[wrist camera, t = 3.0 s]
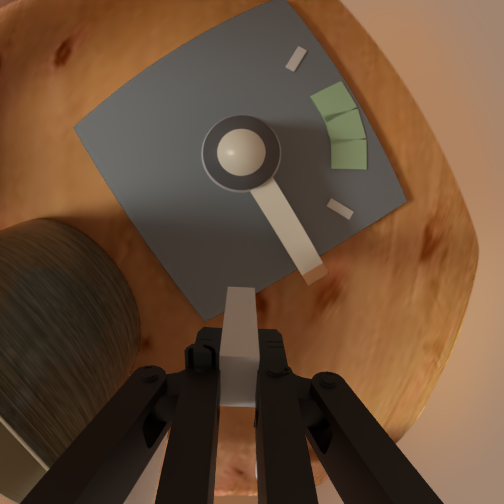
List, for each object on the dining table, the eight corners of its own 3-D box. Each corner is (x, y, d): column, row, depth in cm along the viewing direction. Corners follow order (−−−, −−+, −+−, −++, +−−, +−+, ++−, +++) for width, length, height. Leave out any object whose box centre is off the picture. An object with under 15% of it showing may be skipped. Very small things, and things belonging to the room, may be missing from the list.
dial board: (79, 128, 24) (72, 127, 22) (281, 1, 21) (282, -6, 19) (206, 316, 30) (204, 323, 28) (401, 199, 27) (408, 201, 25)
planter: (72, 404, 34) (18, 513, 14) (-27, 280, 28) (-124, 353, 9) (188, 343, 31) (148, 522, 11) (57, 169, 25) (-118, 210, 5)
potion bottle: (145, 388, 32) (104, 516, 15) (181, 430, 35) (163, 548, 18) (97, 400, 33) (50, 508, 16) (134, 438, 36) (105, 542, 18)
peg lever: (198, 144, 23) (186, 141, 18) (251, 111, 23) (254, 99, 18) (282, 275, 27) (292, 304, 22) (331, 246, 26) (352, 268, 21)
